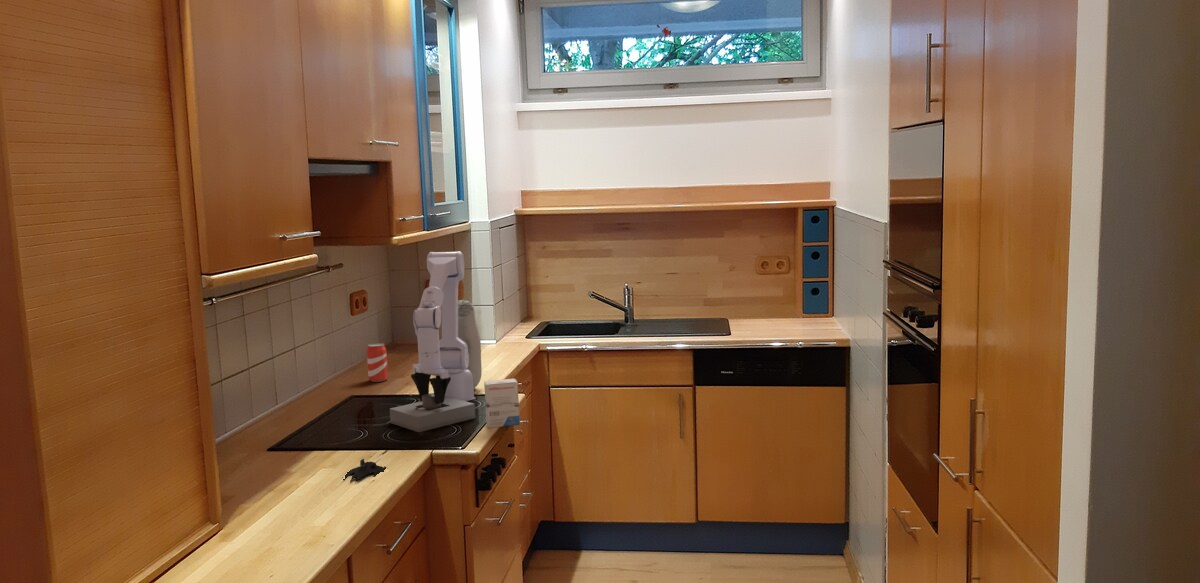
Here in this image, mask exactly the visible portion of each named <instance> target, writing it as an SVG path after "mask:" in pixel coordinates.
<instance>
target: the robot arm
mask: <svg viewBox="0 0 1200 583" xmlns="http://www.w3.org/2000/svg"><path fill="white" fill-rule="evenodd" d="M426 267H427V271H428V273H429V275H430V278H429V284H428V287H426V288H425V289H423V293H422V296H421V299H420V303H419V306H418V307H417V308H416V309H414V311H413V315H412V321H413V322H412V323H413V328H414V332H415V333H414V334H415V336H416V338H417V350H418V351H417V352H418V353H417V354H418V363H414V364H412V372H413V373H412V374H410V378H411V379H412V381H413V382H414V384H415V386H416V390H417V392H418V395H419V398H420V400H422V395H424V394H429V393H430V385H431V387H432V390H433V393H434V397H435V402H436V404H440V403H444V398H445V396H448V397H452V398H455V399H459V400H463V401H466V402H469V401H472V400H476V396H475V393H474V392H475V391H474V389H475V388H474V389H473V376H472V374H471V372H470V371H469V370H468V369H467V368H468V365H469V354H468V346H467V344H466V343H465V342H464V341H462V340H461V339H460V338H458V300H459V286H460V284H459V283H460V282H461V281H463V280H464V279H465V257H464V253H462V251H460V250H459V251H439V252H438V251H437V252H435V251H430V252H429V253H428V254H427V257H426ZM440 327H441V338H440V332H439V329H440ZM447 347H458V348H460V349H447ZM432 376H434V377H433V378H432Z"/></svg>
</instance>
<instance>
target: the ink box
mask: <svg viewBox="0 0 1200 583" xmlns="http://www.w3.org/2000/svg"><path fill="white" fill-rule="evenodd" d="M483 383H484V406H485V422H486V428H488V429H489V428H500V427H501V428H502V427H510V426H520V424H521V421H520V420H521V419H520V403H519V401H520V399H519V383H518V380H517V379H516V378H506V379H495V380H494V379H492V380H484V382H483Z"/></svg>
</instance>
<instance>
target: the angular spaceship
mask: <svg viewBox="0 0 1200 583" xmlns="http://www.w3.org/2000/svg"><path fill="white" fill-rule="evenodd" d="M380 460H381V458H379V459H377V461H365V459H364V458H362V459H361V460H359V466H357V467H354V468H352V469H349V470H350V471H349V470H348V471H349V472H347V471H346V472H347V474H346V473H345V474H346V475H345V474H344V475H345V479H346V478H347V477H348V476H349V477H351V479H350V481H349V482H350V483H351V482H352V481H354V480H355V479H356V480H355V481H354V483H357V482H359V481H360V480H362V479H364V477H365V478H366V477H367V476H369V475H370V474H374V475H373V476H376V475H377V474H379V473H380V472H384V470H385V469H386V468H387V467H386V466H384V467H383V466H381V465H377V462H379V461H380ZM369 473H370V474H369ZM351 474H352V475H351ZM349 477H348V478H349ZM348 478H347V479H348ZM345 479H343V480H344V481H345ZM347 479H346V480H347Z"/></svg>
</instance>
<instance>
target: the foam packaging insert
mask: <svg viewBox="0 0 1200 583" xmlns="http://www.w3.org/2000/svg"><path fill="white" fill-rule="evenodd" d="M418 408H423V406H422V400H421V401H417V402H413V403H409V404H405V405H399V406H396V407H391V408H389V419H390V420H389V421H390V424H392V425H396V426H399V427H401V428H405V429H407V430H411V431H414V432H416V433H421V432H425V431H429V430H433V429H437V428H441V427H446V426H449V425H453V424H457V423H461V422H465V421H469V420H473V419H476V405H475V402H474V403H473V402H469V401H463V400H459V399H455V398H452V397H448V396H445V398H444V403H441V408H438V409H434V410H430V411H427V410H418Z"/></svg>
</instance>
